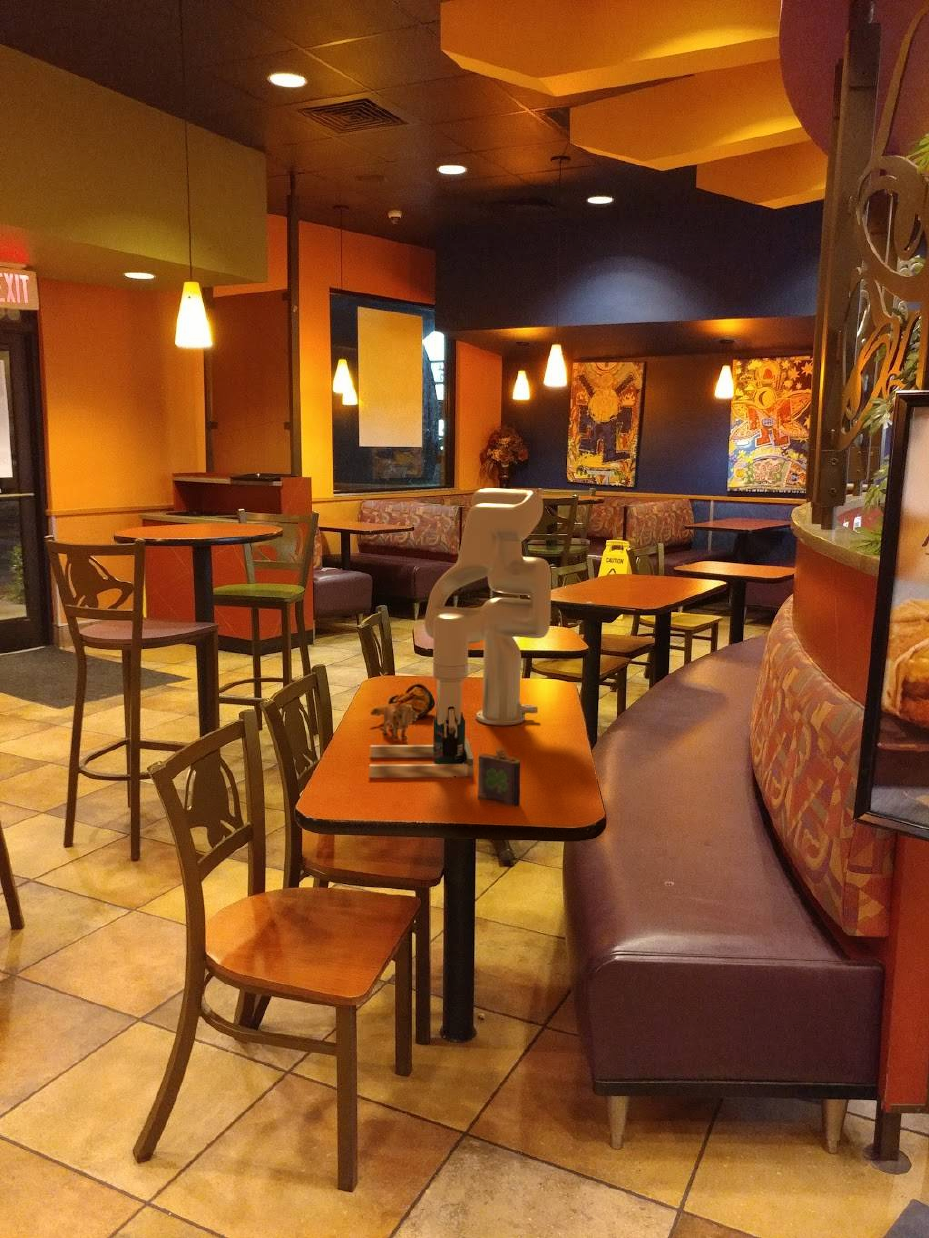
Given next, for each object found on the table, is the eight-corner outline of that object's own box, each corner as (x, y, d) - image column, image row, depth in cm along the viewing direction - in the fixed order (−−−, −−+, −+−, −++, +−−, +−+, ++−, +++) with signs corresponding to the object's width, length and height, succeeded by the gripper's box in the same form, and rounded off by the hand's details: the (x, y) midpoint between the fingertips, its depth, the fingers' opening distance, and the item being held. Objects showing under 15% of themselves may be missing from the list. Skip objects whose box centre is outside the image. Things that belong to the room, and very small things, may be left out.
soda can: (426, 764, 215) (427, 712, 213) (450, 758, 219) (451, 706, 217) (446, 773, 210) (447, 719, 208) (470, 766, 214) (472, 714, 212)
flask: (475, 798, 196) (476, 746, 194) (482, 793, 198) (484, 743, 196) (516, 807, 191) (518, 755, 189) (522, 803, 194) (524, 751, 192)
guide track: (467, 755, 222) (467, 738, 221) (472, 776, 208) (473, 758, 207) (370, 755, 220) (370, 738, 219) (369, 777, 206) (369, 759, 205)
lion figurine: (420, 741, 231) (421, 705, 230) (402, 745, 228) (402, 708, 226) (388, 726, 243) (388, 691, 241) (369, 729, 240) (370, 694, 238)
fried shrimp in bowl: (448, 698, 252) (405, 689, 238) (427, 734, 254) (383, 727, 240) (426, 679, 258) (383, 669, 243) (406, 714, 259) (361, 706, 245)
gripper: (431, 661, 219) (430, 737, 222) (435, 680, 202) (433, 762, 205) (464, 661, 219) (462, 737, 223) (471, 680, 202) (469, 762, 206)
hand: (448, 748), depth 214 cm, fingers closed on soda can, 6 cm apart
